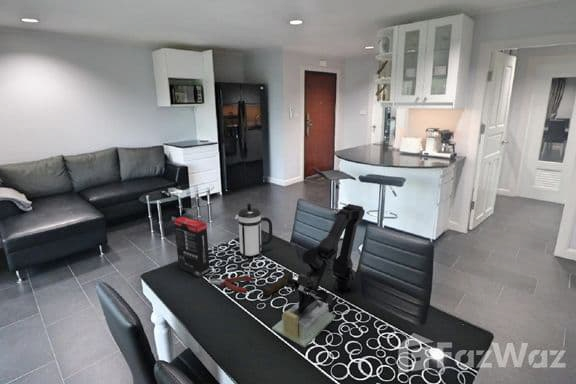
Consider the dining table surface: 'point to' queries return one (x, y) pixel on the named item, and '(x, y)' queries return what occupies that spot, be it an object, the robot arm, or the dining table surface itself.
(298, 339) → the board
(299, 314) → the dark grey flat bar
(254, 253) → the coffee press
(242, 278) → the pliers
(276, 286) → the hand tool
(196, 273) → the graphics card box
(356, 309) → the dining table surface
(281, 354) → the dining table surface
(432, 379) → the dining table surface
